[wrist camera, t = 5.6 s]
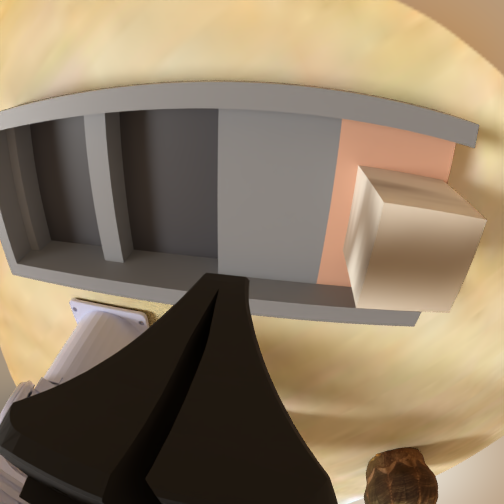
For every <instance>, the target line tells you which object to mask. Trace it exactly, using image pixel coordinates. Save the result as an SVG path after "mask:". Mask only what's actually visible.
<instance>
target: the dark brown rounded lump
mask: <svg viewBox="0 0 504 504" xmlns="http://www.w3.org/2000/svg"><path fill="white" fill-rule="evenodd" d="M366 480H367V486H366V490H365V493H364V500H365V504H436V502H437V499H438V483H437V480H436V477H435V475H434V473H433V472H432V471H431V470H430V469H429V467H428V466H427V465H426V464H425V461H424V458H423V456H422V454H421V453H420V451H419V450H418V449H414V448H399V449H395V450H391V451H386V452H383V453H379V454H376V456H375V457H374V458H372V459H371V460H370V461H369V464H368V467H367V470H366Z"/></svg>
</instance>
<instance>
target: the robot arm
mask: <svg viewBox="0 0 504 504" xmlns="http://www.w3.org/2000/svg"><path fill="white" fill-rule="evenodd" d="M249 282H250V280H249V279H248V278H247V277H243V276H234V275H224V274H215V273H205V274H204V275H203V276H202V277H201V278H200V279H199V280H198V281H197V282H196V283H195V284H194V285H193V286H192V287H191V288H190V289H189V290H188V291H187V292H186V293H185V295H184V296H183V297H182V298H181V299H180V300H179V301H178V302H176V303H175V304H174V305H173V306H172V307H171V308H170V309H169V310H168V311H167V312H166V313H165V314H164V315H163V316H162V317H161V318H160V319H158V320H157V321H156V322H155V323H154V324H153V325H151V326H150V327H149V323H148V318H147V315H146V314H145V313H143V312H140V311H134V310H129V309H123V308H118V307H113V306H107V305H102V304H97V303H92V302H88V301H83V300H78V299H71V300H70V302H69V303H70V306H71V309H72V312H73V314H74V317H75V319H76V322H77V324H78V325H77V326H76V328H75V329H74V331H73V332H72V334H71V335H70V337H69V338H68V340H67V341H66V343H65V344H64V346H63V347H62V349H61V350H60V352H59V354H58V355H57V357H56V358H55V360H54V361H53V363H52V365H51V366H50V368H49V369H48V371H47V373H46V374H45V376H44V378H43V377H42V378H41V379H40V381H39V382H38V384H37V386H36V387H35V389H34V386H35V385H34V384H33V383H32V382H31V381H27V382H21V383H20V384H19V385H18V386H17V387H16V389H15V390H14V392H13V393H12V395H11V396H10V398H9V400H8V401H7V403H6V405H5V406H4V408H3V410H2V412H1V414H0V504H338V503H337V499H336V496H335V492H334V489H333V486H332V483H331V480H330V477H329V476H328V474H327V473H326V471H325V470H324V469H323V467H322V466H321V465H320V463H319V462H318V461H317V459H316V458H315V456H314V455H313V453H312V452H311V451H310V449H309V448H308V446H307V445H306V443H305V441H304V440H303V438H302V437H301V435H300V434H299V432H298V430H297V429H296V427H295V425H294V424H293V422H292V420H291V418H290V416H289V414H288V412H287V411H286V409H285V407H284V405H283V403H282V401H281V399H280V398H279V395H278V393H277V391H276V389H275V387H274V385H273V382H272V380H271V378H270V375H269V373H268V370H267V368H266V365H265V363H264V360H263V357H262V354H261V351H260V348H259V345H258V342H257V338H256V335H255V331H254V327H253V322H252V318H251V313H250V307H249Z"/></svg>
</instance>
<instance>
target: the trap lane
mask: <svg viewBox="0 0 504 504" xmlns="http://www.w3.org/2000/svg"><path fill="white" fill-rule="evenodd" d="M478 129H479V125H478V124H475V123H473V122H470V121H467V120H464V119H462V118H459V117H456V116H453V115H450V114H447V113H444V112H440V111H437V110H433V109H429V108H426V107H422V106H418V105H414V104H410V103H406V102H401V101H397V100H393V99H388V98H383V97H378V96H373V95H368V94H362V93H356V92H350V91H344V90H338V89H330V88H323V87H315V86H306V85H296V84H285V83H271V82H253V81H179V82H161V83H148V84H137V85H127V86H118V87H110V88H103V89H96V90H90V91H84V92H78V93H72V94H67V95H62V96H57V97H52V98H48V99H43V100H39V101H35V102H31V103H27V104H23V105H19V106H16V107H12V108H9V109H5V110H2V111H0V240H1V243H2V246H3V249H4V252H5V255H6V258H7V261H8V264H9V266H10V269H11V272H12V274H13V275H17V276H21V277H26V278H30V279H34V280H39V281H44V282H48V283H53V284H58V285H63V286H68V287H73V288H78V289H83V290H88V291H93V292H99V293H104V294H110V295H115V296H121V297H127V298H133V299H139V300H145V301H151V302H158V303H164V304H171V305H174V304H175V303H176V302H178V301H179V300H180V299H181V298H182V297H183V296H184V295H185V293H186V292H187V291H188V290H189V289H190V288H191V287H192V286H193V285H194V284H195V283H196V282H197V281H198V280H199V279H200V278H201V277H202V276H203V275H204V274H205V273H215V274H224V275H234V276H243V277H247V278H248V279H249V280H250V282H249V307H250V313H251V315H258V316H267V317H277V318H288V319H299V320H311V321H323V322H337V323H352V324H369V325H390V326H415V324H416V322H417V320H418V318H419V315H420V313H421V312H420V311H399V310H381V309H364V308H356V305H355V301H354V296H353V291H352V287H351V282H350V278H349V274H348V269H347V265H346V261H345V257H344V253H343V247H344V242H345V237H346V232H347V227H348V222H349V216H350V211H351V206H352V200H353V194H354V189H355V183H356V176H357V170H358V165H361V166H368V167H374V168H381V169H387V170H393V171H399V172H404V173H410V174H415V175H420V176H425V177H430V178H435V179H440V180H443V181H444V182H445V183H447V182H448V178H449V174H450V169H451V165H452V160H453V156H454V151H455V146H456V143H459V144H462V145H466V146H469V147H472V148H475V145H476V140H477V134H478Z"/></svg>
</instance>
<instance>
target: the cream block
mask: <svg viewBox="0 0 504 504" xmlns="http://www.w3.org/2000/svg"><path fill="white" fill-rule="evenodd" d="M486 222H487V219H486V218H484V217H483V216H482V215H481V214H480V213H479V212H478V211H477V210H476V209H475V208H474V207H473V206H472V205H471V204H469V203H468V202H467V201H466V200H465V199H464V198H463V197H462V196H461V195H459V194H458V193H457V192H456V191H455V190H454V189H452V188H451V187H450V186H449V185H448V184H447V183H445V182H444V181H443V180H440V179H435V178H430V177H425V176H420V175H415V174H410V173H404V172H399V171H393V170H387V169H381V168H374V167H368V166H361V165H358V170H357V176H356V183H355V189H354V194H353V200H352V206H351V211H350V216H349V222H348V227H347V232H346V237H345V242H344V247H343V253H344V257H345V261H346V265H347V269H348V274H349V278H350V282H351V287H352V291H353V296H354V301H355V305H356V308H364V309H381V310H399V311H420V312H446V313H449V312H450V310H451V308H452V306H453V304H454V301H455V299H456V297H457V295H458V293H459V291H460V289H461V286H462V284H463V282H464V279H465V277H466V275H467V272H468V270H469V268H470V265H471V263H472V260H473V258H474V255H475V253H476V250H477V247H478V245H479V242H480V239H481V237H482V234H483V231H484V228H485V225H486Z"/></svg>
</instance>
